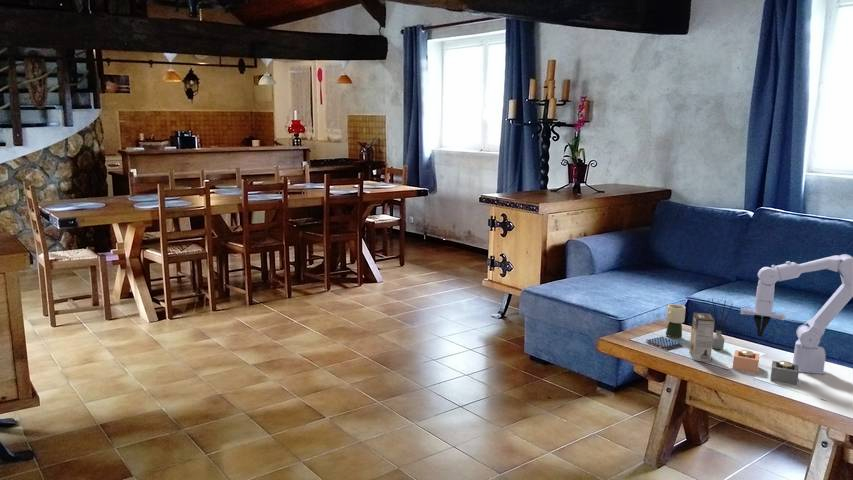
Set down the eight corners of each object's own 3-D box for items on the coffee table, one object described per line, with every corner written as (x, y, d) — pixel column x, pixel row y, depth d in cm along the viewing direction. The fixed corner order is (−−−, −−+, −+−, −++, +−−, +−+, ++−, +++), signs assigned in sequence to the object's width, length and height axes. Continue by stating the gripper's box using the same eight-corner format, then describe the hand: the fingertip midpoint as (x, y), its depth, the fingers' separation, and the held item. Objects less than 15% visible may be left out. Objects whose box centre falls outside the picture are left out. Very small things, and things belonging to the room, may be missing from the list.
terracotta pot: (757, 366, 243) (759, 354, 243) (757, 373, 236) (758, 360, 236) (733, 362, 247) (735, 350, 246) (732, 368, 240) (734, 356, 239)
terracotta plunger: (753, 365, 243) (754, 351, 242) (752, 369, 238) (754, 355, 237) (738, 363, 245) (740, 348, 244) (737, 367, 241) (739, 352, 240)
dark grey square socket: (796, 378, 233) (798, 365, 232) (797, 385, 226) (798, 372, 225) (770, 373, 237) (772, 360, 236) (770, 380, 230) (772, 367, 229)
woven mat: (661, 340, 272) (661, 335, 272) (683, 347, 264) (683, 342, 263) (643, 343, 267) (644, 339, 267) (665, 351, 258) (666, 346, 258)
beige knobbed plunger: (791, 377, 232) (793, 362, 231) (791, 381, 228) (793, 366, 227) (776, 374, 234) (777, 359, 233) (775, 378, 230) (777, 363, 229)
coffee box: (688, 352, 257) (692, 312, 254) (706, 354, 256) (710, 313, 253) (692, 360, 248) (697, 318, 245) (711, 362, 247) (715, 320, 244)
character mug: (674, 332, 282) (676, 302, 280) (689, 337, 276) (692, 306, 274) (658, 336, 276) (661, 305, 273) (673, 341, 270) (676, 310, 268)
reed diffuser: (731, 350, 260) (736, 301, 257) (721, 354, 256) (727, 303, 253) (706, 343, 268) (711, 295, 265) (697, 346, 264) (702, 297, 261)
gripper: (786, 300, 244) (782, 336, 246) (743, 294, 250) (738, 329, 253) (786, 304, 237) (782, 341, 240) (742, 298, 244) (737, 334, 246)
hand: (759, 335), depth 246 cm, fingers closed
